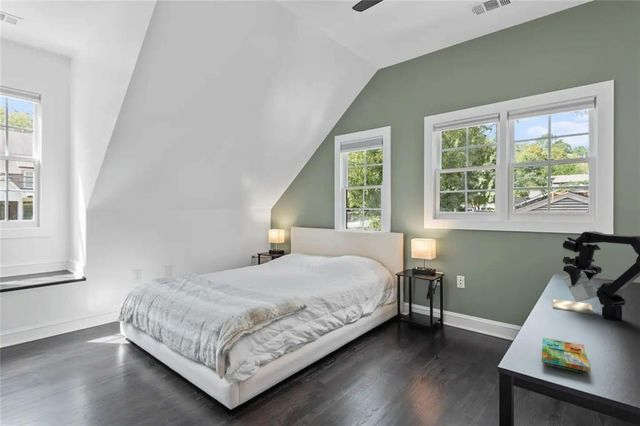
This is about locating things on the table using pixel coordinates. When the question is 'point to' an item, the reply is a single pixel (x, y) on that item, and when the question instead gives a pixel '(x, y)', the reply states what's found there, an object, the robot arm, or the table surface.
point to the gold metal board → (572, 306)
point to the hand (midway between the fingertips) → (578, 285)
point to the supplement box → (581, 288)
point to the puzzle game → (565, 355)
